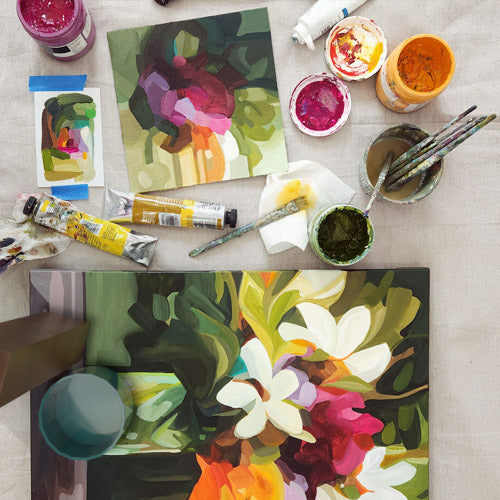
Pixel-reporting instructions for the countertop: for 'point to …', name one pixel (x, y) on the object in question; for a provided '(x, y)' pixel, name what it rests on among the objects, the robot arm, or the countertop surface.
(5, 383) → the pedestal
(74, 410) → the bowl
